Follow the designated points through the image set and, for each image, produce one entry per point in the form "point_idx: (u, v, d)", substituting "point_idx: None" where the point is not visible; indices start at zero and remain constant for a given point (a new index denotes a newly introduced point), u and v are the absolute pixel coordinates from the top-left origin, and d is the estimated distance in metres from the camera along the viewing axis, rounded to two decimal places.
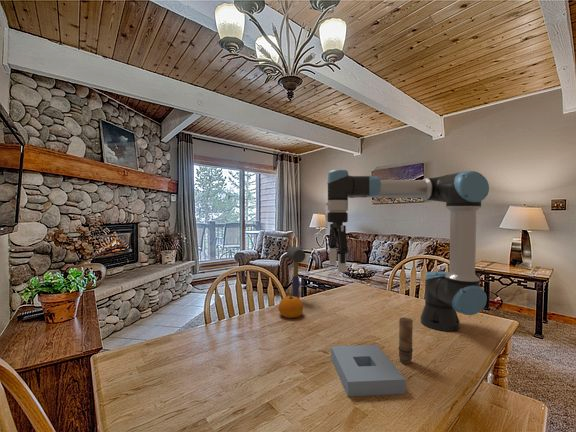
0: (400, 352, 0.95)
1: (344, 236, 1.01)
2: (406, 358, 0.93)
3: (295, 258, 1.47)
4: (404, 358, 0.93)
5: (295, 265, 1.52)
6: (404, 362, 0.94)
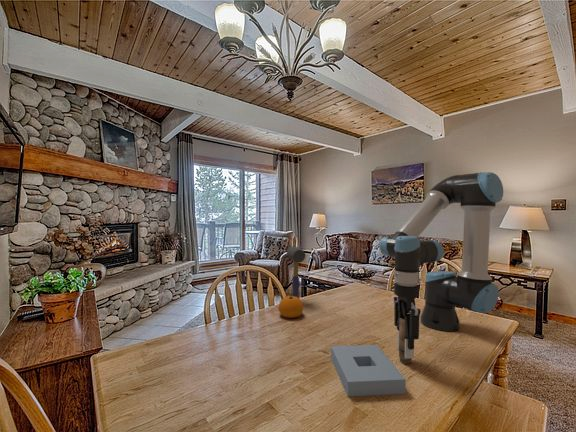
0: (400, 352, 0.94)
1: (417, 322, 0.89)
2: None
3: (295, 258, 1.47)
4: (404, 358, 0.93)
5: (295, 265, 1.52)
6: (404, 362, 0.94)
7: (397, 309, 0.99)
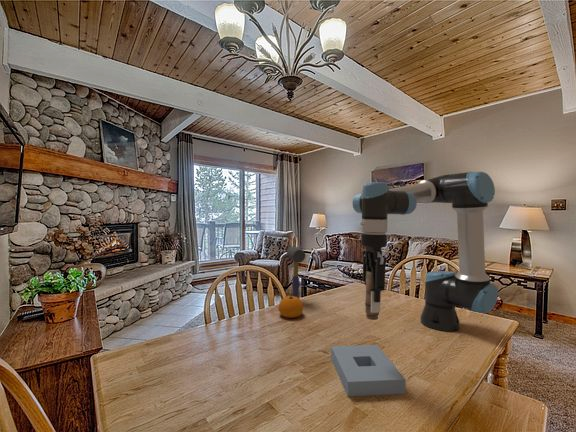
0: (366, 307, 0.88)
1: (382, 271, 0.83)
2: (372, 313, 0.87)
3: (295, 258, 1.47)
4: (370, 313, 0.87)
5: (295, 265, 1.52)
6: (370, 317, 0.87)
7: (365, 263, 0.93)
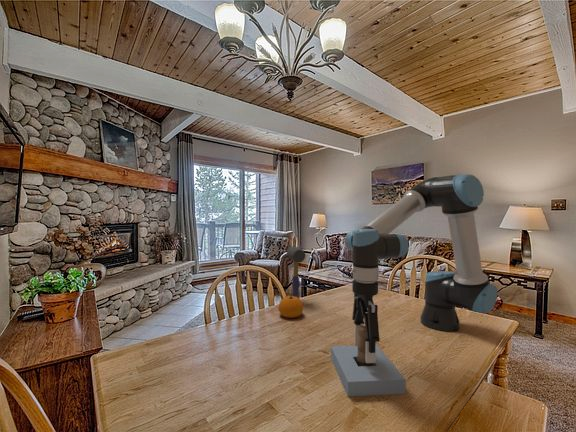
0: (358, 363, 0.87)
1: (375, 320, 0.80)
2: None
3: (295, 258, 1.47)
4: None
5: (295, 265, 1.52)
6: None
7: None
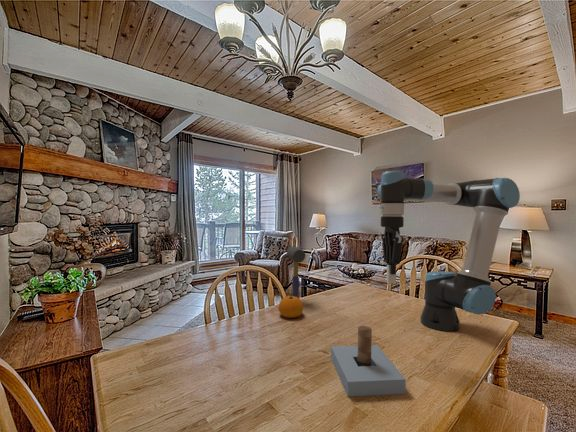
0: (358, 363, 0.87)
1: (399, 248, 0.96)
2: None
3: (295, 258, 1.47)
4: None
5: (295, 265, 1.52)
6: None
7: (385, 244, 1.05)
